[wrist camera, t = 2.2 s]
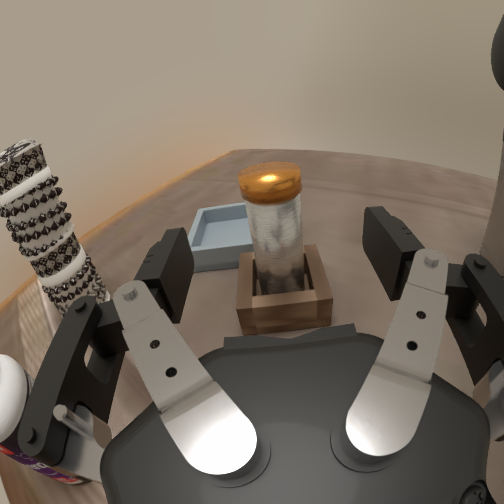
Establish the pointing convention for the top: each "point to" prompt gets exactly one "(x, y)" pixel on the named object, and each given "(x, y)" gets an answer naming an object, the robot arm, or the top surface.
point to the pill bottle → (18, 416)
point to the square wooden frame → (283, 299)
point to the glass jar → (275, 224)
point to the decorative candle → (45, 227)
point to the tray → (220, 237)
